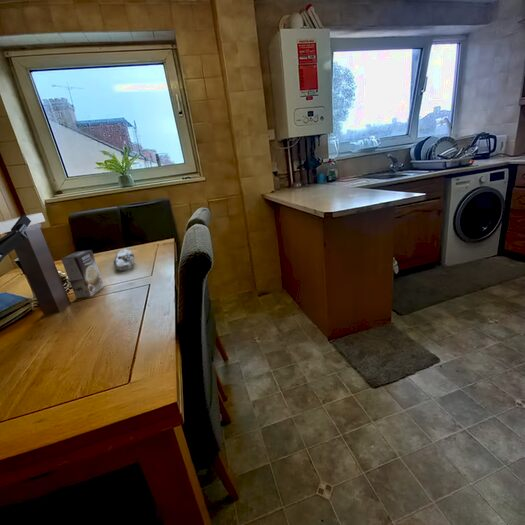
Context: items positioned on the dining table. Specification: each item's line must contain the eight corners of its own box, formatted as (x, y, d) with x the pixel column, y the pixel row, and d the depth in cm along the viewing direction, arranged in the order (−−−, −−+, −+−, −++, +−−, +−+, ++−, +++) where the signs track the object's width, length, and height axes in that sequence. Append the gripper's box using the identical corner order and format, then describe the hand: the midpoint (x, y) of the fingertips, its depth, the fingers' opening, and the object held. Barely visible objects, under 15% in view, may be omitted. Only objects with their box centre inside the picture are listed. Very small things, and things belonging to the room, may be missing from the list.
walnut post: (41, 314, 96) (3, 230, 86) (55, 305, 102) (21, 225, 92) (60, 312, 96) (24, 228, 85) (72, 303, 102) (40, 223, 92)
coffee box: (91, 297, 106) (76, 257, 100) (75, 298, 106) (59, 259, 100) (105, 286, 114) (92, 249, 109) (90, 287, 115) (76, 251, 109)
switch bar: (-18, 237, 78) (-23, 227, 76) (37, 222, 96) (33, 213, 95) (-8, 236, 77) (-13, 225, 76) (45, 221, 96) (42, 212, 95)
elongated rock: (135, 253, 161) (116, 258, 157) (132, 245, 159) (113, 250, 156) (137, 267, 130) (115, 274, 127) (134, 256, 129) (110, 263, 125)
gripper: (-72, 290, 73) (-23, 233, 87) (18, 281, 72) (53, 224, 85) (-103, 273, 67) (-46, 215, 81) (-7, 262, 66) (35, 205, 80)
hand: (5, 220), depth 83 cm, fingers open, 13 cm apart
